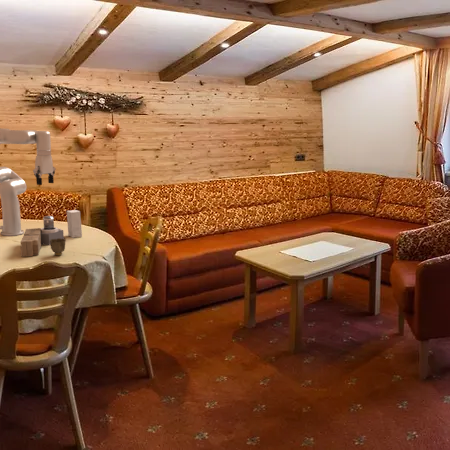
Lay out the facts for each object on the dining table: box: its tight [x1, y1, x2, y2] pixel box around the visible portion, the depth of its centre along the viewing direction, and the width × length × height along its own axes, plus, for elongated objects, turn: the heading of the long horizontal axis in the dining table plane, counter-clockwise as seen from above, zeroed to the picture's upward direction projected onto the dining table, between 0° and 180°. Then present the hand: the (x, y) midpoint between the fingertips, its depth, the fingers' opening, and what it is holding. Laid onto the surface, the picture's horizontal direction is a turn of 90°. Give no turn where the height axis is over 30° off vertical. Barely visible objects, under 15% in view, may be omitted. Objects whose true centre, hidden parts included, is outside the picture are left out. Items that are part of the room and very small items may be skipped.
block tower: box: [20, 227, 42, 257], centre depth 259 cm, size 8×8×29 cm
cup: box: [49, 238, 66, 257], centre depth 249 cm, size 8×7×8 cm
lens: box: [43, 215, 55, 230], centre depth 274 cm, size 6×5×8 cm
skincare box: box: [66, 209, 83, 239], centre depth 291 cm, size 8×6×15 cm
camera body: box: [41, 226, 64, 246], centre depth 276 cm, size 9×12×8 cm
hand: (45, 183), depth 285 cm, fingers open, 9 cm apart
